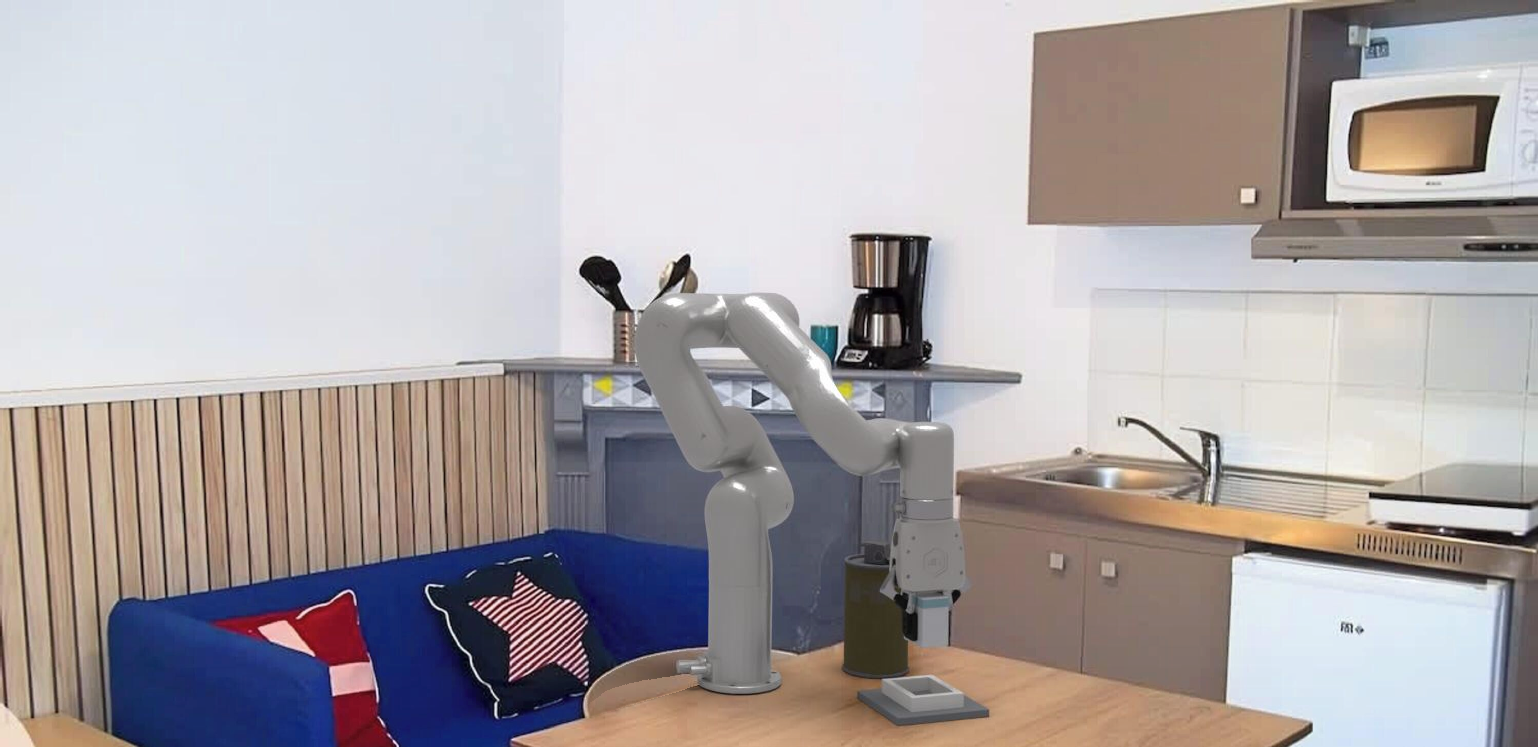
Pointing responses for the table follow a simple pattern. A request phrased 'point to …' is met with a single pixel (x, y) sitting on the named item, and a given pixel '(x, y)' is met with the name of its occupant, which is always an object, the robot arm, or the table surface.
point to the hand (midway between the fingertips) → (925, 636)
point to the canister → (872, 617)
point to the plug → (932, 619)
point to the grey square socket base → (921, 701)
